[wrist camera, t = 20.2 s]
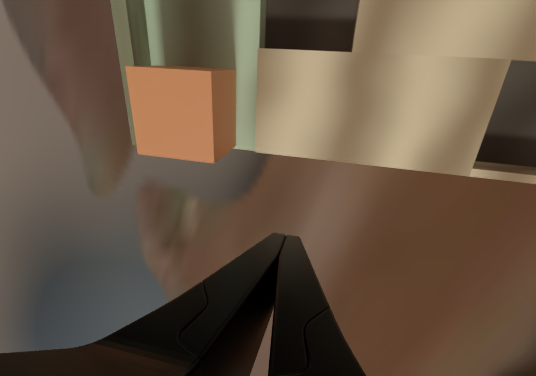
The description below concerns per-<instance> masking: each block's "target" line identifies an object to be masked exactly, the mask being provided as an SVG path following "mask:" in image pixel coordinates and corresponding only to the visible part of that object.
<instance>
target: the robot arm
mask: <svg viewBox="0 0 536 376" xmlns="http://www.w3.org/2000/svg"><path fill="white" fill-rule="evenodd" d="M273 308H274V313H273V324H272V336H271V347H270V358H269V370H268V376H366V375H365V373H364V371H363V370H362V368H361V366H360V365H359V363H358V361H357V360H356V358H355V356H354V355H353V353H352V351H351V349H350V347H349V346H348V344H347V342H346V340H345V339H344V337H343V335H342V333H341V330H340V328H339V326H338V324H337V322H336V320H335V318H334V315H333V313H332V311H331V309H330V306H329V304H328V302H327V299H326V297H325V295H324V293H323V290H322V288H321V286H320V283H319V281H318V279H317V276H316V274H315V272H314V269H313V267H312V265H311V262H310V260H309V258H308V255H307V253H306V251H305V248H304V246H303V244H302V242H301V239H300V237H298V236H292V235H287V236H286V235H285V234H280V233H272V234H271V235H269V236H268V237H266V238H265V239H263V240H262V241H260V242H259V243H257V244H256V245H255V246H253V247H252V248H250V249H249V250H247V251H246V252H244V253H243V254H241V255H240V256H238V257H237V258H235V259H234V260H232V261H231V262H229V263H228V264H227V265H225V266H224V267H222V268H221V269H219V270H218V271H216V272H215V273H213V274H212V275H210V276H209V277H207V278H206V279H204V280H203V281H202V282H200V283H198V284H197V285H195V286H194V287H192V288H191V289H189V290H188V291H186V292H185V293H183V294H182V295H180V296H178V297H177V298H175V299H174V300H172V301H170V302H168V303H167V304H165V305H164V306H162V307H160V308H158V309H156V310H155V311H153V312H151V313H149V314H147V315H145V316H143V317H142V318H140V319H138V320H136V321H134V322H132V323H131V324H129V325H127V326H125V327H123V328H121V329H120V330H118V331H116V332H114V333H112V334H110V335H108V336H107V337H104V338H102V339H100V340H98V341H96V342H93V343H91V344H87V345H84V346H79V347H74V348H66V349H52V350H39V351H26V352H12V353H0V376H250V373H251V370H252V368H253V365H254V362H255V359H256V356H257V354H258V351H259V348H260V345H261V342H262V339H263V337H264V334H265V331H266V328H267V325H268V322H269V320H270V317H271V314H272V311H273Z"/></svg>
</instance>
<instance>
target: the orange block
mask: <svg viewBox="0 0 536 376" xmlns="http://www.w3.org/2000/svg"><path fill="white" fill-rule="evenodd" d="M125 69H126V76H127V83H128V89H129V96H130V103H131V110H132V117H133V124H134V130H135V137H136V144H137V151H138V154H142V155H150V156H158V157H167V158H175V159H182V160H190V161H198V162H206V163H207V162H208V163H215V162H217V161H218V160H219V159H220V158H221V157H223V156H224V155H225V154H226V153H228V152H229V151H230V150H231V149H233V148H234V147H235V146H236V70H234V69H218V68H201V67H184V66H167V65H158V66H125Z"/></svg>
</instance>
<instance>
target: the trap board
mask: <svg viewBox="0 0 536 376" xmlns="http://www.w3.org/2000/svg"><path fill="white" fill-rule="evenodd" d="M110 2H111V9H112V15H113V22H114V28H115V35H116V41H117V48H118V54H119V61H120V68H121V74H122V81H123V87H124V94H125V100H126V107H127V113H128V120H129V126H130V133H131V140H132V145H137V144H136V137H135V130H134V124H133V117H132V110H131V103H130V96H129V89H128V83H127V76H126V69H125V66H158V65H167V66H184V67H201V68H218V69H234V70H236V146H235V147H234V148H235V149H243V150H252V151H255V152H258V153H267V154H276V155H285V156H294V157H303V158H311V159H320V160H329V161H338V162H347V163H356V164H364V165H373V166H382V167H391V168H400V169H409V170H418V171H426V172H435V173H444V174H453V175H462V176H471V177H479V178H488V179H497V180H506V181H515V182H524V183H532V184H536V0H110Z"/></svg>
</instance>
